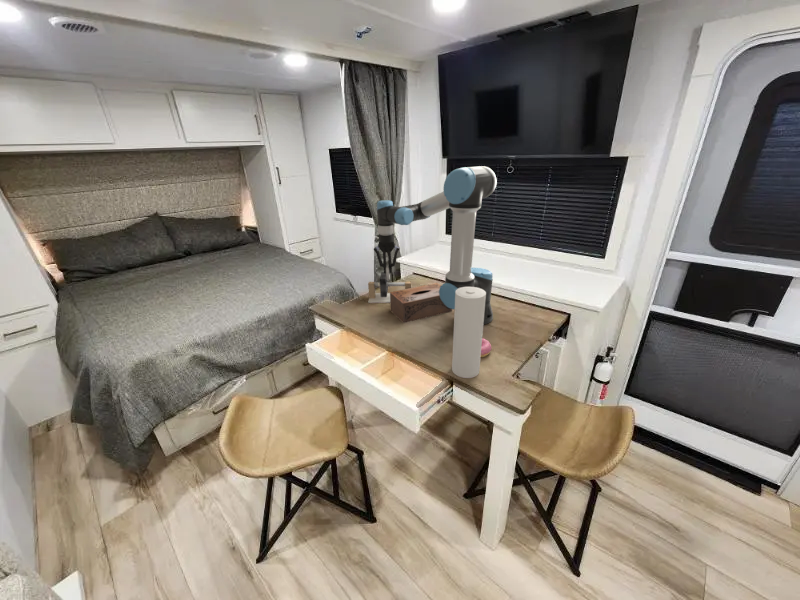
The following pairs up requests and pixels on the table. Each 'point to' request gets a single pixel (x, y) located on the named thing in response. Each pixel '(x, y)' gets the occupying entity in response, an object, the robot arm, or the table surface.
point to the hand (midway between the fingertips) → (388, 279)
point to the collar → (383, 285)
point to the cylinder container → (468, 331)
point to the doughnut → (485, 347)
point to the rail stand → (377, 296)
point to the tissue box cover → (417, 302)
